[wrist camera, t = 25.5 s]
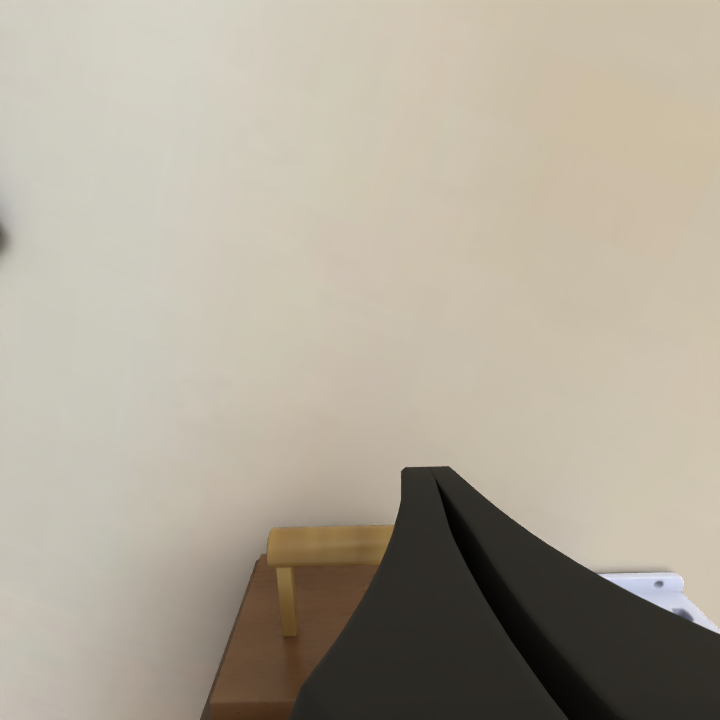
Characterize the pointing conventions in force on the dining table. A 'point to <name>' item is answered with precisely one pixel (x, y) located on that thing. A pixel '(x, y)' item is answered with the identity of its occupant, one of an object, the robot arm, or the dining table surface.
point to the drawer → (294, 615)
